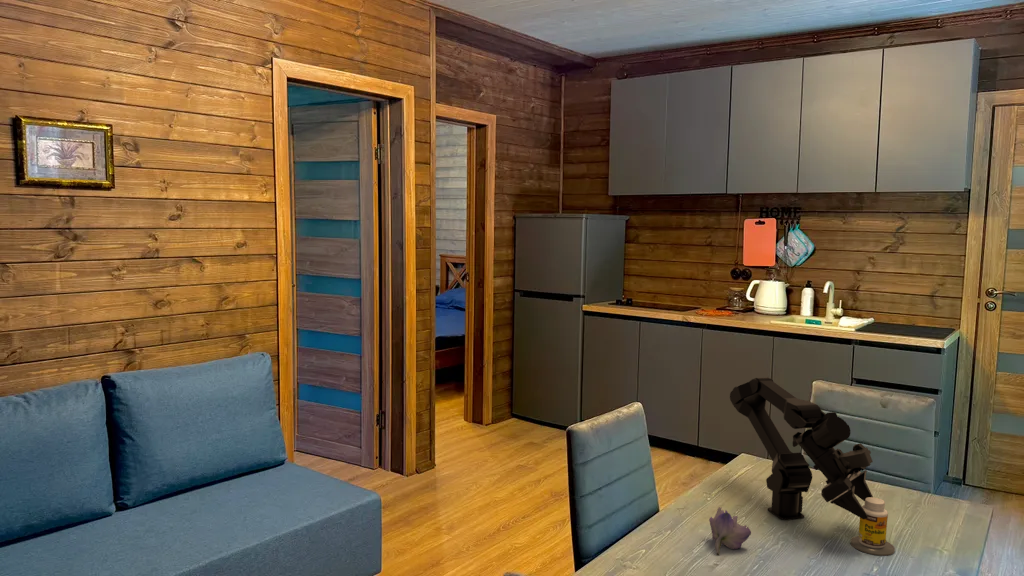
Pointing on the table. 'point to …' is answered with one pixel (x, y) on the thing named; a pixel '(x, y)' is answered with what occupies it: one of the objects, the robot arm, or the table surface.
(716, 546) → the flower
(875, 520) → the supplement bottle
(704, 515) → the table surface
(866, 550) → the slate coaster
